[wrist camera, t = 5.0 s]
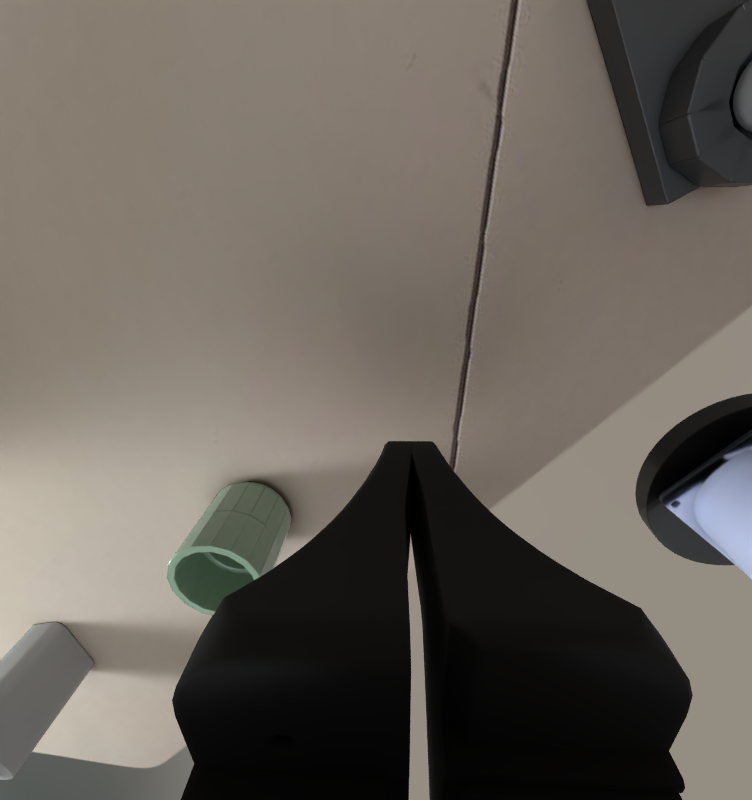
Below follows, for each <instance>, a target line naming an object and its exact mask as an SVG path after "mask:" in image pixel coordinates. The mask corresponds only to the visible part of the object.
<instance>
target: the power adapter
mask: <svg viewBox="0 0 752 800" xmlns="http://www.w3.org/2000/svg"><path fill="white" fill-rule="evenodd" d="M93 665H94V662H93V660H92V659H91V658H90V656H89V655H88V654H87V653H86V652H85V650H84V649H83V648H82V647H81V645H80V644H79V643H78V642H77V640H76V639H75V638H74V637H73V636H72V634H71V633H70V632H69V631H68V629H67V628H66V627H65V626H63V625H62V624H60V623H57V622H50V623H42V624H35V625H33V626H32V627H31V628H30V629H29V630H28V631H27V632H26V633H25V634H24V636H23V637H22V638H21V639H20V640H19V641H18V642H17V643H16V644H15V645H14V646H13V647H12V648H11V649H10V650H9V652H8V653H7V654H6V655H5V656H4V657H3V658H2V659H1V660H0V780H7V779H12V778H13V777H14V776H15V774H16V773H17V771H18V770H19V769H20V767H21V766H22V764H23V763H24V761H25V760H26V759H27V757H28V756H29V755H30V753H31V752H32V750H33V749H34V748H35V746H36V745H37V743H38V742H39V741H40V739H41V738H42V736H43V735H44V734H45V732H46V731H47V729H48V728H49V727H50V725H51V724H52V722H53V721H54V720H55V718H56V717H57V715H58V714H59V713H60V711H61V710H62V709H63V707H64V706H65V704H66V703H67V702H68V700H69V699H70V697H71V696H72V695H73V693H74V692H75V690H76V689H77V688H78V686H79V685H80V683H81V682H82V681H83V679H84V678H85V676H86V675H87V674H88V672H89V671H90V669H91V668H92V667H93Z"/></svg>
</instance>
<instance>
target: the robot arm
mask: <svg viewBox="0 0 752 800" xmlns="http://www.w3.org/2000/svg"><path fill="white" fill-rule="evenodd" d="M659 500H660V502H661V503H662V504H663V505H664V506H666V507H667V508H668V509H669V510H670V511H672V512H673V513H674V514H675V515H676V516H677V517H679V518H680V519H681V520H682V521H683V522H685V523H686V524H687V525H688V526H689V527H691V528H692V529H693V530H694V531H695V532H697V533H698V534H699V535H700V536H701V537H703V538H704V539H705V540H706V541H707V542H709V543H710V544H711V545H712V546H713V547H714V548H716V549H717V550H718V551H719V552H720V553H722V554H723V555H724V556H725V557H726V558H728V559H729V560H730V561H731V562H732V563H734V564H735V565H736V566H737V567H738V568H740V569H741V570H742V571H743V572H744V573H746V574H747V575H748V576H749V577H750V578H751V579H752V429H751V430H750V431H748V432H747V433H746V434H744V435H743V436H741V437H740V438H739V439H737V440H736V441H734V442H733V443H731V444H730V445H729V446H727V447H726V448H724V449H723V450H721V451H720V452H719V453H717V454H716V455H714V456H713V457H711V458H710V459H709V460H707V461H706V462H704V463H703V464H702V465H700V466H699V467H697V468H696V469H694V470H693V471H692V472H690V473H689V474H687V475H686V476H684V477H683V478H682V479H680V480H679V481H677V482H676V483H674V484H673V485H672V486H670V487H669V488H667V489H666V490H665V491H663V492H662V493H661V494H660V495H659ZM674 501H676V502H675V503H673V502H674ZM672 503H673V504H672ZM410 534H411V539H412V547H413V554H414V561H415V569H416V576H417V583H418V590H419V597H420V604H421V614H422V624H423V645H424V667H425V690H426V714H427V739H428V764H429V790H430V791H429V792H430V800H682V798H681V796H680V794H679V793H682V792H683V791H684V789H685V785H684V780H683V778H682V776H681V774H680V772H679V770H678V768H677V766H676V764H675V762H674V760H673V758H672V756H671V754H670V752H669V749H670V748H671V746H672V743H673V742H674V740H675V738H676V736H677V734H678V732H679V730H680V728H681V726H682V724H683V722H684V720H685V718H686V716H687V713H688V710H689V707H690V703H691V699H692V691H691V686H690V681H689V679H688V677H687V676H686V674H685V672H684V671H683V669H682V668H681V666H680V665H679V663H678V661H677V660H676V658H675V657H674V655H673V653H672V652H671V650H670V649H669V647H668V646H667V644H666V642H665V641H664V640H663V638H662V636H661V635H660V634H659V632H658V631H657V630H656V628H655V627H654V626H653V624H652V623H651V622H650V621H649V619H648V618H647V616H646V615H645V613H644V612H643V611H642V609H641V608H639V607H637V606H635V605H633V604H631V603H630V602H628V601H625V600H624V599H622V598H620V597H618V596H616V595H614V594H612V593H610V592H608V591H606V590H605V589H603V588H601V587H599V586H597V585H595V584H593V583H591V582H589V581H587V580H586V579H584V578H582V577H580V576H579V575H577V574H575V573H574V572H572V571H570V570H569V569H567V568H566V567H564V566H562V565H561V564H559V563H557V562H556V561H554V560H553V559H551V558H550V557H548V556H546V555H545V554H544V553H542V552H540V551H539V550H538V549H536V548H535V547H533V546H532V545H531V544H529V543H528V542H527V541H525V540H524V539H523V538H521V537H520V536H518V535H517V534H516V533H515V532H513V531H512V530H511V529H509V528H508V527H507V526H506V525H505V524H503V523H502V522H501V521H500V520H499V519H498V518H497V517H495V516H494V515H493V514H492V513H491V512H490V511H489V510H488V509H487V508H486V507H485V506H484V505H483V504H482V503H481V502H480V501H479V500H478V499H477V498H476V497H475V496H474V495H473V494H472V492H471V491H470V490H469V489H468V488H467V487H466V486H465V484H464V483H463V482H462V481H461V480H460V478H459V477H458V476H457V475H456V473H455V472H454V471H453V470H452V468H451V467H450V466H449V464H448V463H447V461H446V460H445V459H444V457H443V456H442V454H441V453H440V451H439V449H438V448H437V446H436V445H435V444H434V443H433V442H430V441H389V442H387V443H386V444H385V446H384V449H383V451H382V453H381V456H380V457H379V459H378V461H377V463H376V465H375V466H374V468H373V470H372V471H371V473H370V474H369V476H368V477H367V479H366V480H365V482H364V483H363V485H362V486H361V487H360V489H359V490H358V491H357V493H356V494H355V495H354V496H353V498H352V499H351V500H350V502H349V503H348V504H347V505H346V506H345V507H344V509H343V510H342V511H341V512H340V513H339V514H338V515H337V516H336V517H335V518H334V519H333V520H332V521H331V522H330V523H329V524H328V525H327V526H326V527H325V528H324V529H323V530H322V531H321V532H320V533H319V534H317V535H316V536H315V537H314V538H313V539H312V540H311V541H310V542H308V543H307V544H306V545H305V546H304V547H302V548H301V549H300V550H298V551H297V552H296V553H294V554H293V555H292V556H290V557H289V558H288V559H286V560H285V561H283V562H282V563H281V564H279V565H278V566H276V567H275V568H273V569H272V570H270V571H269V572H267V573H265V574H264V575H262V576H260V577H259V578H257V579H255V580H254V581H252V582H250V583H248V584H247V585H245V586H243V587H242V588H240V589H238V590H237V591H235V592H233V593H231V594H229V595H228V596H226V597H224V598H223V600H222V602H221V603H220V605H219V606H218V608H217V610H216V611H215V613H214V615H213V616H212V618H211V619H210V621H209V622H208V624H207V626H206V627H205V629H204V631H203V633H202V634H201V636H200V638H199V640H198V642H197V644H196V646H195V648H194V650H193V652H192V654H191V657H190V659H189V661H188V663H187V665H186V667H185V669H184V671H183V673H182V675H181V677H180V679H179V682H178V684H177V686H176V689H175V692H174V696H173V699H172V702H173V707H174V713H175V717H176V719H177V722H178V724H179V727H180V729H181V732H182V734H183V737H184V739H185V742H186V744H187V747H188V749H189V751H190V754H191V756H192V759H193V761H194V766H193V769H192V771H191V774H190V777H189V779H188V782H187V785H186V787H185V790H184V793H183V795H182V798H181V800H408V798H409V797H408V796H409V794H408V793H409V760H410V759H409V757H410V697H411V696H410V694H411V654H410V653H411V650H410V622H409V621H410V620H409V601H408V580H407V573H408V560H409V547H410Z"/></svg>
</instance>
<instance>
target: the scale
mask: <svg viewBox="0 0 752 800" xmlns="http://www.w3.org/2000/svg"><path fill="white" fill-rule="evenodd" d="M588 3H589V7H590V10H591V14H592V17H593V21H594V24H595V27H596V31H597V34H598V38H599V41H600V45H601V48H602V51H603V55H604V58H605V62H606V65H607V69H608V72H609V75H610V79H611V82H612V86H613V89H614V93H615V96H616V100H617V103H618V106H619V110H620V113H621V117H622V120H623V124H624V127H625V130H626V134H627V137H628V141H629V144H630V148H631V151H632V154H633V158H634V161H635V165H636V168H637V172H638V175H639V179H640V182H641V185H642V189H643V192H644V196H645V199H646V203H647V205H648V206H650V205H662V204H669V203H671V202H672V201H674V200H676V199H678V198H680V197H682V196H684V195H686V194H688V193H689V192H691V191H693V190H695V189H697V188H699V187H738V186H747V185H752V132H751V131H748V130H746V129H745V128H743V127H742V126H741V125H740V124H739V123H738V121H737V119H736V117H735V114H734V110H733V97H734V92H735V88H736V85H737V83H738V80H739V78H740V76H741V75H742V73H743V71H744V70H745V68H746V67H747V66H748V64H749V63H750V62H751V61H752V0H588Z"/></svg>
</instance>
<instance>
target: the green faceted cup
mask: <svg viewBox="0 0 752 800" xmlns="http://www.w3.org/2000/svg"><path fill="white" fill-rule="evenodd" d="M290 525H291V516H290V512H289V508H288V506H287V505H286V504H285V502H284V500H283V499H282V497H281V496H280V495H279V494H278V493H277V492H276V491H274V490H273V489H271V488H270V487H268V486H265V485H263V484H260V483H255V482H243V483H235V484H232V485H229V486H227V487H225V488H223V489H222V490H220V492H219V493H218V494H217V495H216V497H215V498H214V499H213V501H212V502H211V504H210V505H209V506H208V508H207V509H206V511H205V512H204V514H203V515H202V516H201V518H200V519H199V521H198V522H197V523H196V525H195V526H194V528H193V529H192V530H191V532H190V533H189V535H188V536H187V537H186V539H185V540H184V542H183V543H182V545H181V546H180V547H179V549H178V550H177V552H176V553H175V554H174V556H173V557H172V559H171V560H170V561H169V563H168V568H167V579H168V582H169V584H170V586H171V588H172V591H173V592H174V593H175V594H176V595H177V596H178V597H179V598H180V599H181V600H182V601H183V602H184V603H185V604H186V605H188V606H190V607H192V608H193V609H195V610H197V611H199V612H202V613H203V614H207V615H211V616H213V615H214V613H215V611H216V610H217V608H218V606H219V605H220V603H221V602H222V600H223V598H224V597H226V596H228V595H229V594H231V593H233V592H235V591H237V590H238V589H240V588H242V587H243V586H245V585H247V584H248V583H250V582H252V581H254V580H255V579H257V578H259V577H260V576H262V575H264V574H265V573H267V572H269V571H270V570H272V569H273V568H275V566H276V564H277V561H278V558H279V556H280V553H281V551H282V548H283V546H284V543H285V540H286V538H287V535H288V533H289V529H290Z"/></svg>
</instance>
